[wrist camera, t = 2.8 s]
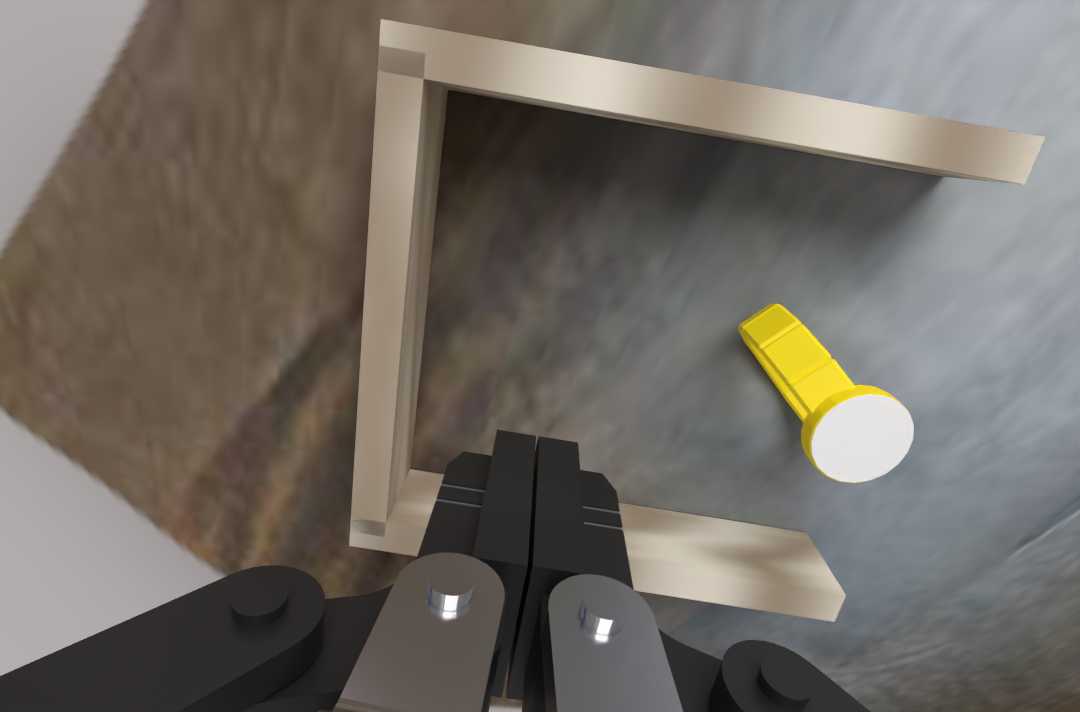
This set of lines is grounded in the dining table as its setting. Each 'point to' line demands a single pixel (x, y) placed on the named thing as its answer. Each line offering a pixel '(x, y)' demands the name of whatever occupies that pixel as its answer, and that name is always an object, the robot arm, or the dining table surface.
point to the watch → (829, 401)
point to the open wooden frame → (636, 96)
